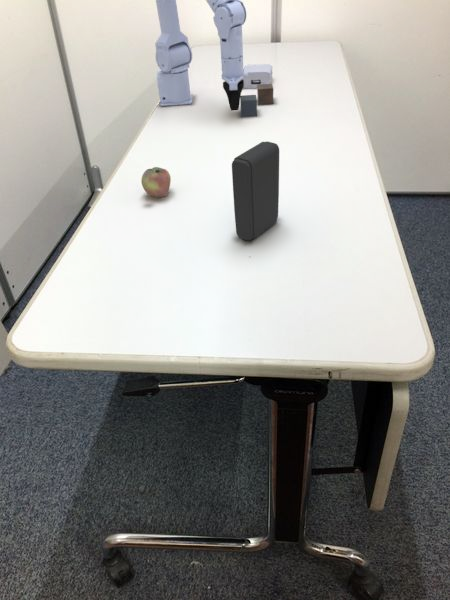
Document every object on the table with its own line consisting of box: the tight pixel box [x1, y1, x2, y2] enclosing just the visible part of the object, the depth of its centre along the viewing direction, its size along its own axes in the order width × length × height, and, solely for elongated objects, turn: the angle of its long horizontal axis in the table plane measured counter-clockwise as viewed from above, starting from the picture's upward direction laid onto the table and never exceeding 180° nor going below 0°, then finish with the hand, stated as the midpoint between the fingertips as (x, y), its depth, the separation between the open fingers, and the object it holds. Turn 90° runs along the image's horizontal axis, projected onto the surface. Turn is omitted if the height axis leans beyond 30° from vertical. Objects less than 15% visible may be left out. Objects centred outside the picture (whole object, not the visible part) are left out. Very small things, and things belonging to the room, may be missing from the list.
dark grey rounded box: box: [231, 140, 280, 242], centre depth 80 cm, size 9×4×15 cm, turn 141°
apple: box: [140, 166, 172, 198], centre depth 95 cm, size 6×8×6 cm
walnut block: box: [256, 83, 274, 106], centre depth 135 cm, size 4×4×4 cm
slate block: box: [239, 94, 258, 118], centre depth 129 cm, size 4×4×4 cm
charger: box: [242, 63, 273, 89], centre depth 151 cm, size 5×9×15 cm
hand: (234, 109), depth 129 cm, fingers closed, pressing on slate block
